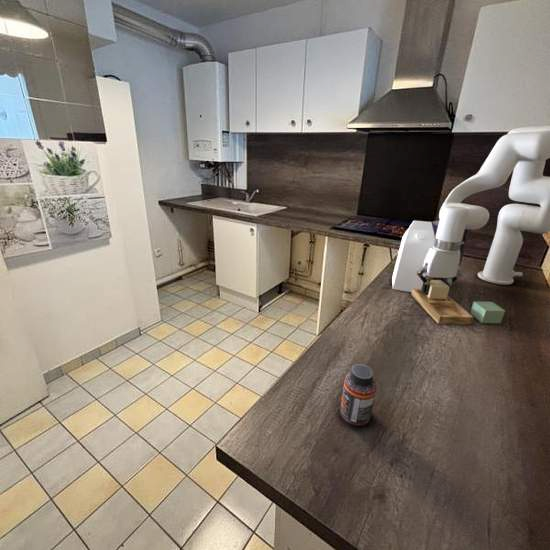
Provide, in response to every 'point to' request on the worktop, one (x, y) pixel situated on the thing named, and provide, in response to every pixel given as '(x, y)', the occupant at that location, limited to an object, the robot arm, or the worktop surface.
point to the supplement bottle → (358, 395)
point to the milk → (412, 256)
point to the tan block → (438, 289)
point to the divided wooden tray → (443, 309)
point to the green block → (487, 312)
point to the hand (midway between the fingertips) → (433, 293)
